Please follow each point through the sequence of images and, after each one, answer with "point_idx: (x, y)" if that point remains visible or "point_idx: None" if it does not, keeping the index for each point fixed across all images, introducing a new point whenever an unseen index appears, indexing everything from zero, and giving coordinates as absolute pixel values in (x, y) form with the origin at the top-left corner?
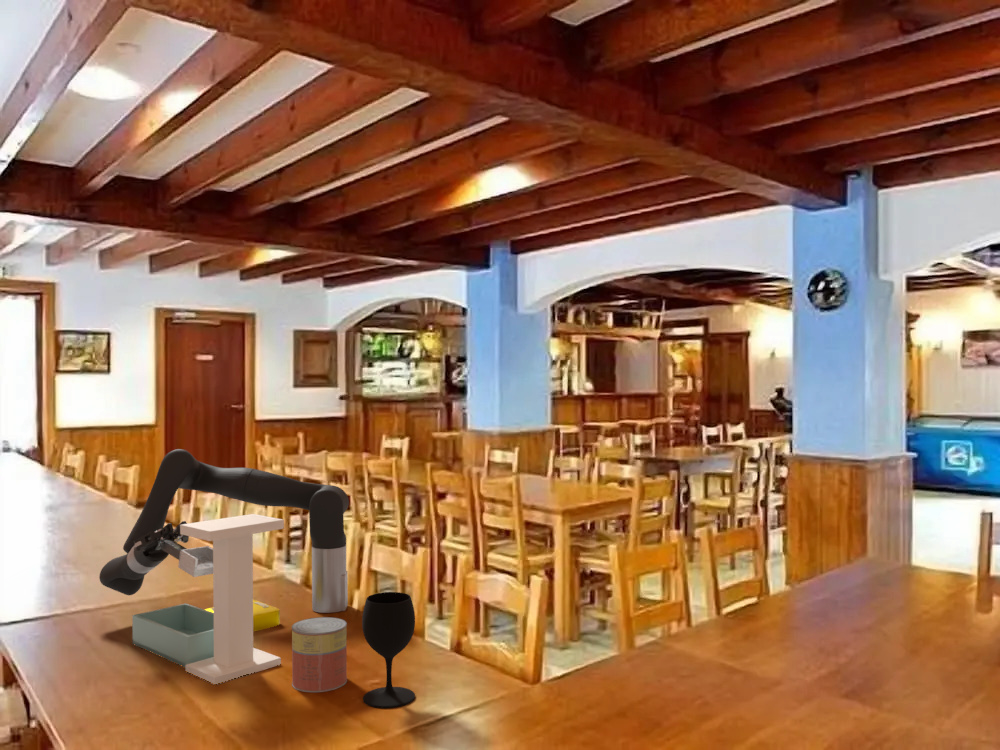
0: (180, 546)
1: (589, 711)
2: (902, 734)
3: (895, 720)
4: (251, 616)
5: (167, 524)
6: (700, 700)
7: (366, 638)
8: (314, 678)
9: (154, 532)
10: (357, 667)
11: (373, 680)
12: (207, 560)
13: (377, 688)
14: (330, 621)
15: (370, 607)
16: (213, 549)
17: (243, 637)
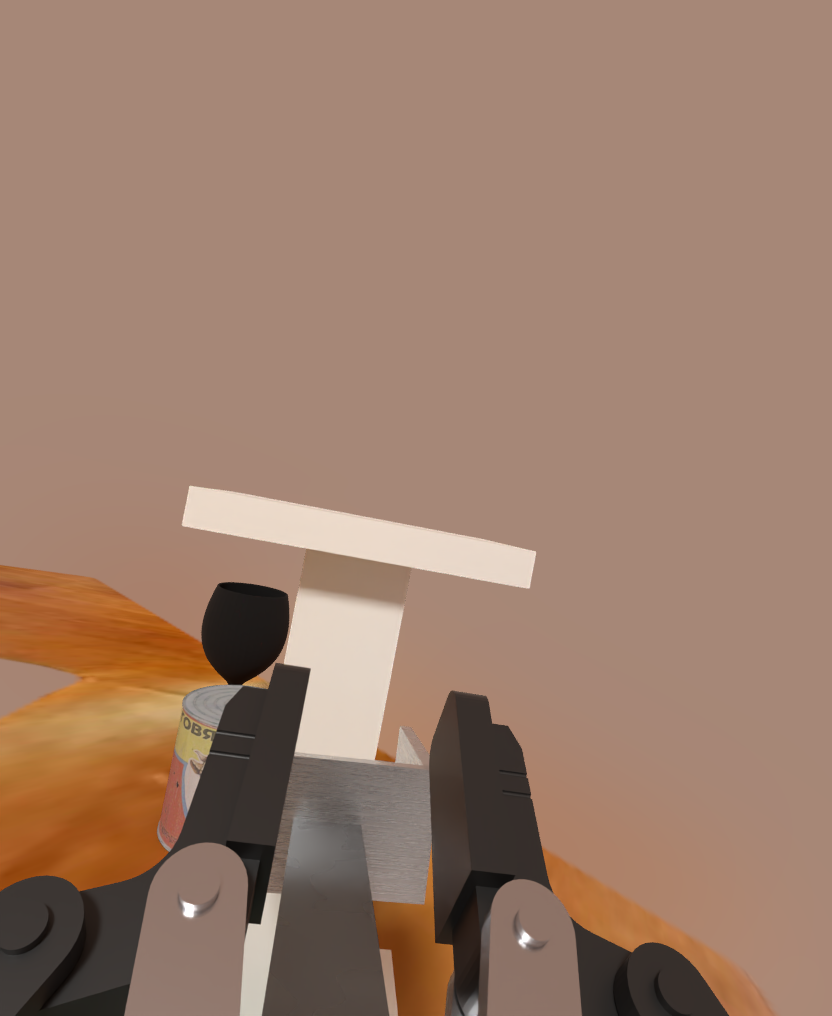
0: (299, 949)
1: (147, 652)
2: (101, 588)
3: (73, 586)
4: None
5: (488, 719)
6: (75, 620)
7: (277, 654)
8: None
9: (625, 961)
10: (99, 819)
11: (161, 779)
12: None
13: None
14: (210, 702)
15: (288, 603)
16: (399, 629)
17: None
